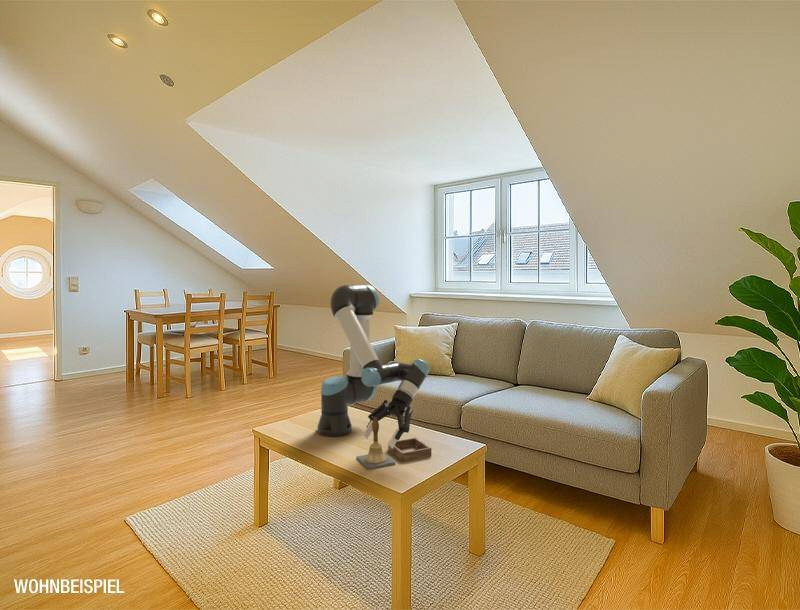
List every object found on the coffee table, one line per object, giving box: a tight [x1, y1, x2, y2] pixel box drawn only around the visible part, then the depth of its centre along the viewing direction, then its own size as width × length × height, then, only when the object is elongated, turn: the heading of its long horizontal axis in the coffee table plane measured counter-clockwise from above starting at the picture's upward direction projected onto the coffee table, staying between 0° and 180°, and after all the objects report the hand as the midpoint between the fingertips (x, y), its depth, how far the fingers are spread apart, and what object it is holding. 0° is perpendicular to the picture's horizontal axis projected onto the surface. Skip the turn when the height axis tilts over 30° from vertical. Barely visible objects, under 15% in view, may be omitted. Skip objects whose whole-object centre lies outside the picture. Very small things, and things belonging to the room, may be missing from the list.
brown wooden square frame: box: [387, 437, 432, 462], centre depth 186 cm, size 13×13×3 cm
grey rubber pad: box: [356, 451, 396, 470], centre depth 177 cm, size 11×11×1 cm
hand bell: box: [365, 417, 387, 464], centre depth 176 cm, size 8×8×16 cm
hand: (377, 441), depth 176 cm, fingers open, 13 cm apart
